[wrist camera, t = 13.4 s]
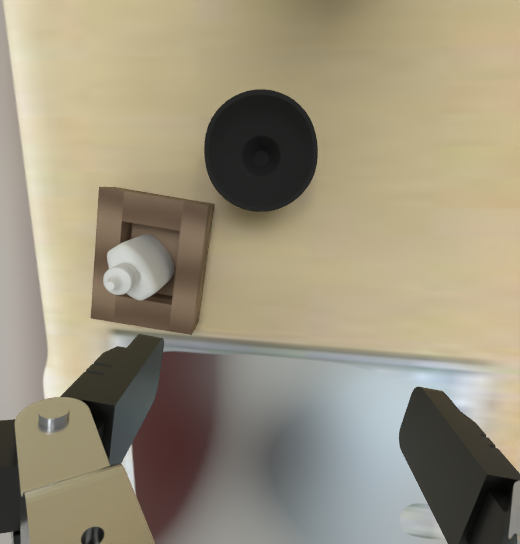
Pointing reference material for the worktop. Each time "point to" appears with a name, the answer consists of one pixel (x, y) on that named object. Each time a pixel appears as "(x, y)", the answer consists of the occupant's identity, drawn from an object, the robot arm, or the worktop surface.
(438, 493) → the robot arm
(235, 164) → the pen holder
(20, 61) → the worktop surface
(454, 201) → the worktop surface
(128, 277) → the eye dropper bottle
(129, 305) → the recessed rectangular tray
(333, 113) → the worktop surface
